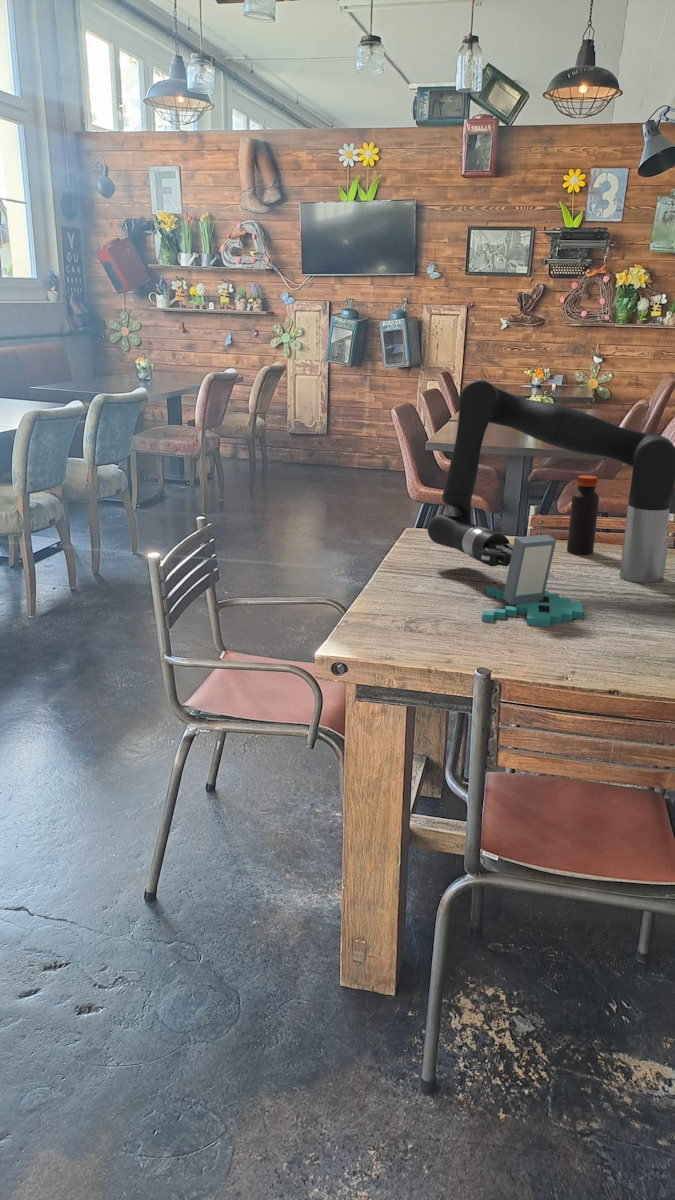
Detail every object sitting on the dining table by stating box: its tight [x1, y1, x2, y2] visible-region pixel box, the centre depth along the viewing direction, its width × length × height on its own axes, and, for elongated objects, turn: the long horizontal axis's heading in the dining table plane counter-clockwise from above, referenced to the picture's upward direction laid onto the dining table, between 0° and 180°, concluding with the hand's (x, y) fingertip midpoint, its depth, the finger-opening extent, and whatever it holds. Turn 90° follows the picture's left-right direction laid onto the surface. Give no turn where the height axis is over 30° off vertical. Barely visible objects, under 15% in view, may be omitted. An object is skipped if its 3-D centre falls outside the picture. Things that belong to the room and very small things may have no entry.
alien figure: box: [481, 585, 584, 627], centre depth 179 cm, size 20×2×20 cm
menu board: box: [503, 533, 557, 606], centre depth 177 cm, size 8×3×14 cm, turn 112°
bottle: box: [566, 474, 600, 556], centre depth 223 cm, size 7×7×20 cm
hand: (529, 564), depth 179 cm, fingers closed
